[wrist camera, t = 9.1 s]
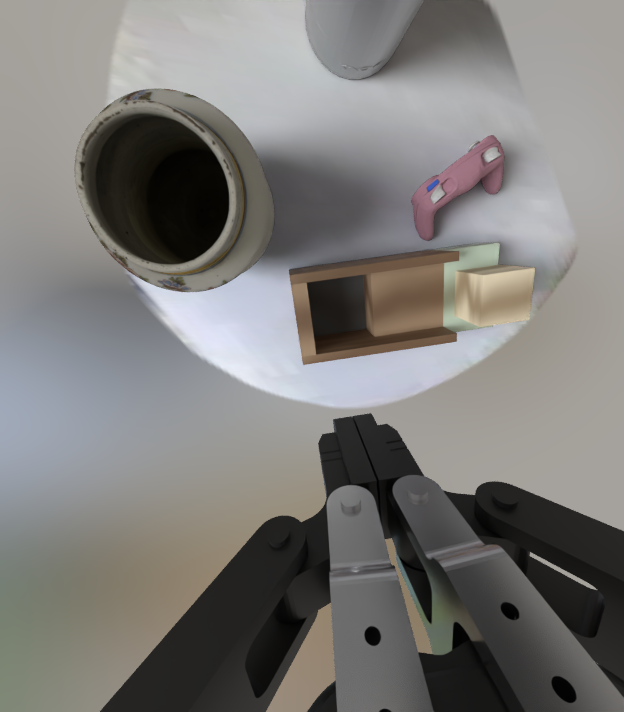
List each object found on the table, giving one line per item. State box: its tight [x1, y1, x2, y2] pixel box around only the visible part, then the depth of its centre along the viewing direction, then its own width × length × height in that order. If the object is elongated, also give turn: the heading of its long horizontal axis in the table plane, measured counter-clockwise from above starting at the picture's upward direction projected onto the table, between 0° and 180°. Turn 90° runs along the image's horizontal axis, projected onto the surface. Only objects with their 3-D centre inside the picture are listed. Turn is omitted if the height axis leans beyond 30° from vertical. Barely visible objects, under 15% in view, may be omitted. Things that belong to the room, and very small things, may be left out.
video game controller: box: [411, 135, 504, 241], centre depth 32 cm, size 10×5×7 cm, turn 125°
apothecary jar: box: [75, 89, 274, 292], centre depth 25 cm, size 12×12×18 cm
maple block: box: [454, 265, 535, 327], centre depth 32 cm, size 5×5×5 cm
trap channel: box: [289, 243, 500, 365], centre depth 35 cm, size 9×22×7 cm, turn 97°
